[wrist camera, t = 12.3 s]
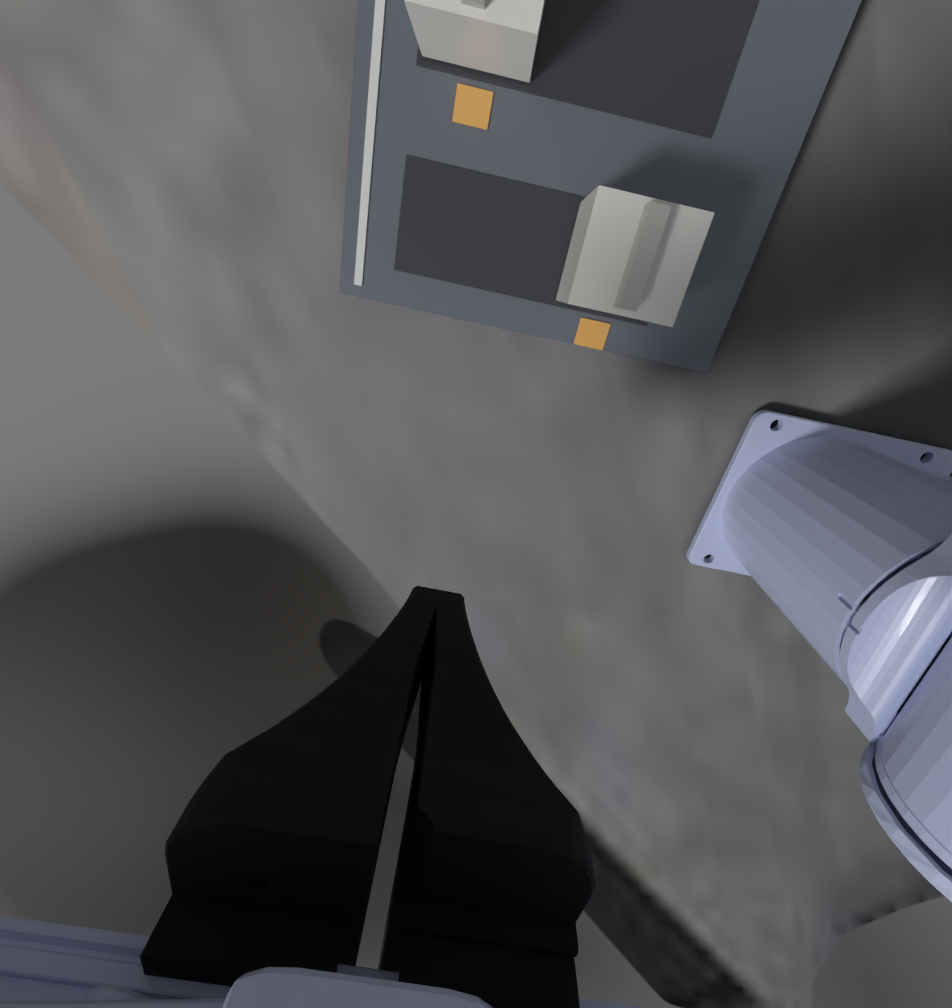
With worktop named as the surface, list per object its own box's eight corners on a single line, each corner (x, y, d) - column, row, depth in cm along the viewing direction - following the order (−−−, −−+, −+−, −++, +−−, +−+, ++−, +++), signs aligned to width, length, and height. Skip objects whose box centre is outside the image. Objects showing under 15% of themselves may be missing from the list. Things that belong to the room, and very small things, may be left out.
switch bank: (985, -343, 12) (1028, -399, 11) (697, 368, 19) (707, 373, 19) (404, -526, 11) (394, -604, 10) (346, 292, 19) (339, 292, 18)
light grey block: (675, 224, 16) (723, 209, 13) (643, 319, 18) (679, 329, 14) (580, 202, 16) (603, 181, 13) (555, 300, 17) (570, 304, 14)
